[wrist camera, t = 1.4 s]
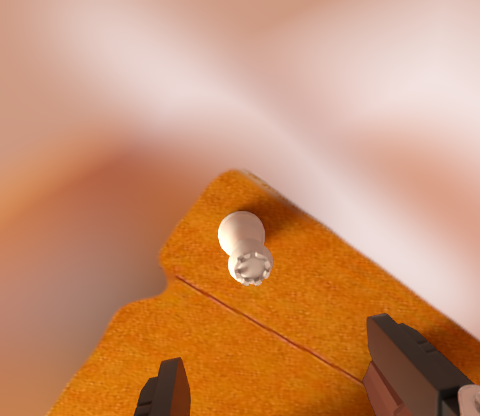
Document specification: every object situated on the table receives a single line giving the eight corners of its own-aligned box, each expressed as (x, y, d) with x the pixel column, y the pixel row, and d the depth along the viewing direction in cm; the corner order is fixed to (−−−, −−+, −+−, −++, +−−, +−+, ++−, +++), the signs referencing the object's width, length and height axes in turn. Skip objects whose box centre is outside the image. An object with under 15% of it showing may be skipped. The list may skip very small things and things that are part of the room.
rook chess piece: (235, 200, 25) (245, 226, 18) (272, 225, 26) (297, 261, 19) (208, 237, 26) (207, 278, 18) (245, 261, 27) (259, 309, 19)
